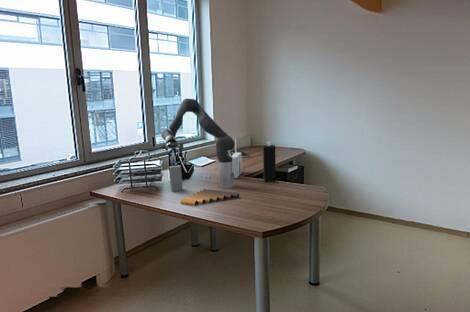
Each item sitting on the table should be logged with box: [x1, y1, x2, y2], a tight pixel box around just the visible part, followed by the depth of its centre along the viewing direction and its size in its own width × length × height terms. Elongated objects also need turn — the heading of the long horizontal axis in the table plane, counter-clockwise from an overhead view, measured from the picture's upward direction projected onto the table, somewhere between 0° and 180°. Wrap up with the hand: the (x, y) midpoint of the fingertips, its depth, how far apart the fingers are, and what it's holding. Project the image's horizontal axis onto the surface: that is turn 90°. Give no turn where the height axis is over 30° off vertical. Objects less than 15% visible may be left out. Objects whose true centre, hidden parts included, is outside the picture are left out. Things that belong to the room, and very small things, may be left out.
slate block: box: [169, 165, 183, 192], centre depth 235 cm, size 4×7×16 cm, turn 104°
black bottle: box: [262, 140, 277, 183], centre depth 248 cm, size 8×8×28 cm
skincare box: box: [231, 153, 243, 179], centre depth 269 cm, size 21×5×16 cm, turn 168°
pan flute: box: [180, 188, 240, 207], centre depth 211 cm, size 25×3×25 cm
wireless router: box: [227, 133, 249, 158], centre depth 345 cm, size 34×23×20 cm
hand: (173, 149), depth 240 cm, fingers open, 8 cm apart
